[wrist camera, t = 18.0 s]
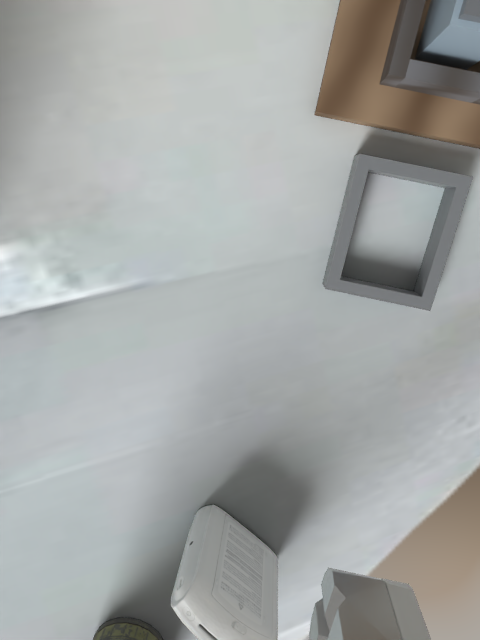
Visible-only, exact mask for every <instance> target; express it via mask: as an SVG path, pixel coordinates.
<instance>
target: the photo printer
mask: <svg viewBox="0 0 480 640" xmlns="http://www.w3.org/2000/svg"><path fill="white" fill-rule="evenodd" d="M171 606H172V608H173V610H174V611H175V613H176V614H177V616H178V617H179V619H180V620H181V621H182V622H183V624H184V625H185V626H186V627H187V628H188V629H189V630H190V631H191V632H192V633H193V634H194V635H195V636H196V637H197V638H198V639H199V640H277V638H278V559H277V556H276V555H275V553H274V552H273V551H272V550H271V549H270V548H269V547H268V546H267V545H266V544H264V543H263V542H262V541H261V540H260V539H258V538H257V537H256V536H255V535H254V534H252V533H251V532H250V531H249V530H248V529H246V528H245V527H244V526H243V525H241V524H240V523H239V522H238V521H236V520H235V519H234V518H233V517H231V516H230V515H229V514H227V513H226V512H225V511H223V510H222V509H221V508H219V507H217V506H215V505H212V506H210V505H208V506H205V507H202V508H201V509H199V510H198V511H197V512H196V514H195V516H194V520H193V524H192V525H191V527H190V530H189V533H188V537H187V540H186V544H185V548H184V552H183V555H182V559H181V563H180V566H179V570H178V574H177V577H176V581H175V585H174V589H173V593H172V596H171Z"/></svg>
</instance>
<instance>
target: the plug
mask: <svg viewBox="0 0 480 640" xmlns="http://www.w3.org/2000/svg"><path fill="white" fill-rule="evenodd" d="M415 59H416V60H421V61H426V62H431V63H436V64H441V65H446V66H451V67H456V68H461V69H466V70H467V69H468V68H470V67H471V66H473V65H474V64H476V63H477V62H479V61H480V0H431V1H430V5H429V9H428V12H427V16H426V20H425V23H424V27H423V31H422V34H421V38H420V42H419V46H418V49H417V53H416V57H415Z"/></svg>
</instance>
